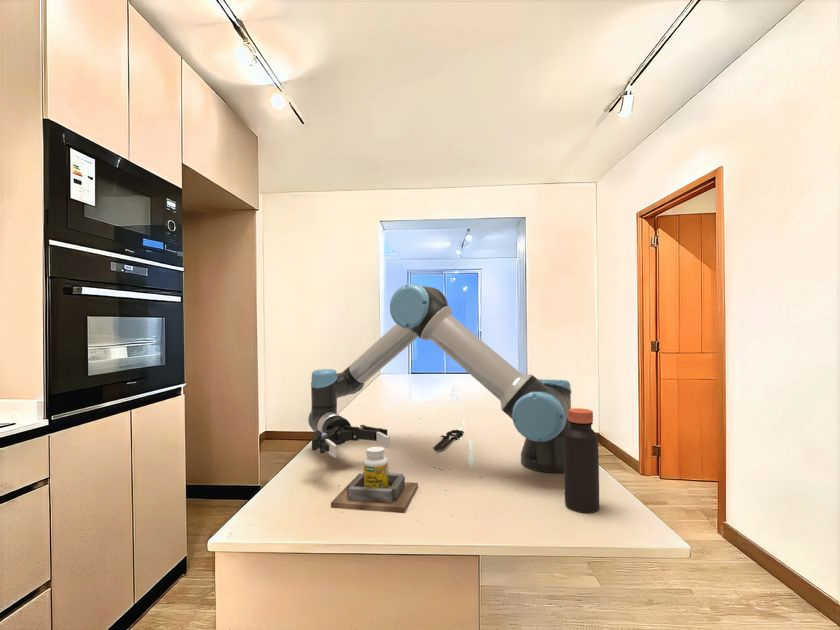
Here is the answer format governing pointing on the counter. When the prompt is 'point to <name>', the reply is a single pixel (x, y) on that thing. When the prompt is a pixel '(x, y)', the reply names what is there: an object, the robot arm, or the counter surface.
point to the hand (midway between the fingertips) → (362, 447)
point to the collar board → (377, 495)
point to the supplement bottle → (376, 468)
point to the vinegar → (581, 462)
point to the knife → (446, 440)
